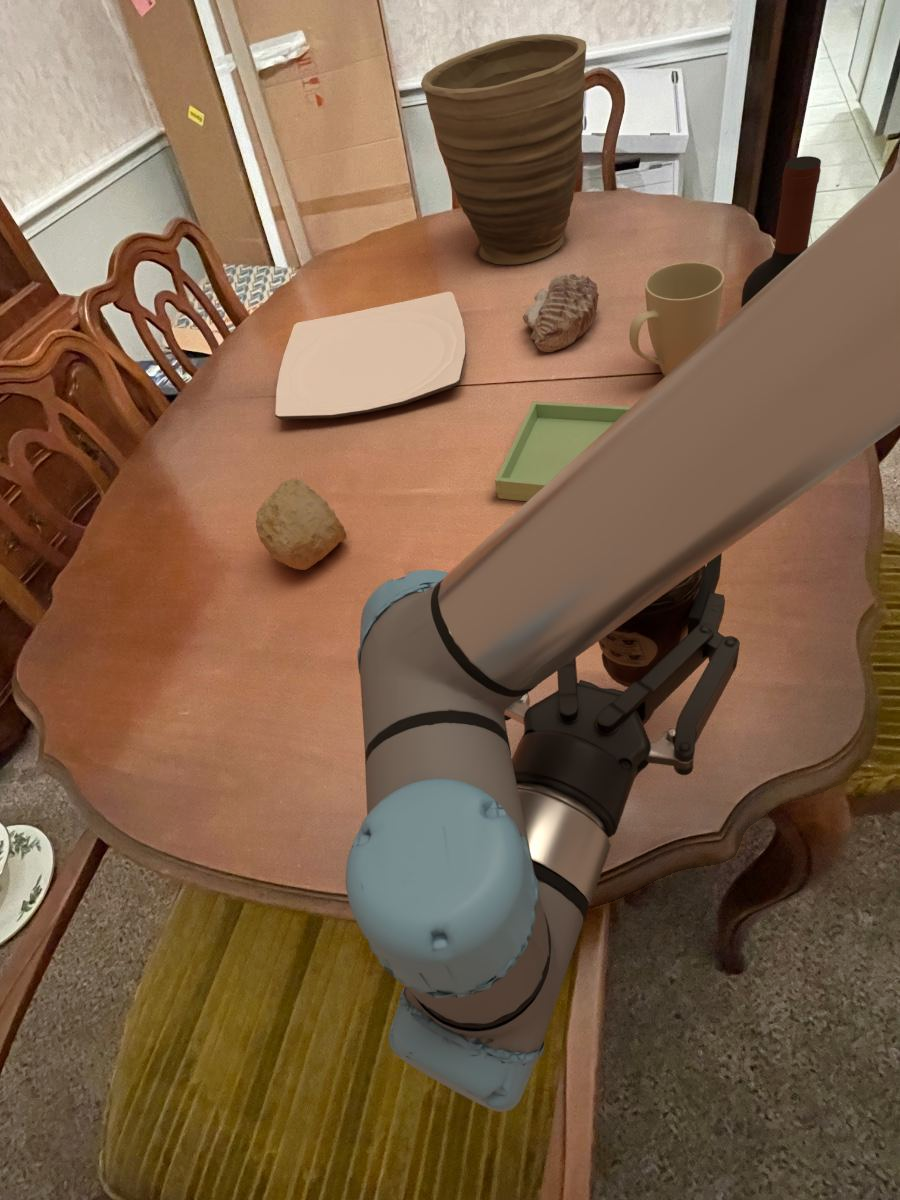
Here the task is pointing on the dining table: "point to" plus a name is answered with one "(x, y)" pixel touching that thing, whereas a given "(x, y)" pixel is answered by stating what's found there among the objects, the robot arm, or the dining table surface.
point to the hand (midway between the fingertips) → (659, 554)
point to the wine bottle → (789, 222)
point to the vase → (512, 139)
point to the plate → (371, 359)
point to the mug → (679, 311)
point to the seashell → (562, 312)
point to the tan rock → (298, 525)
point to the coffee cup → (650, 633)
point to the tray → (550, 444)
